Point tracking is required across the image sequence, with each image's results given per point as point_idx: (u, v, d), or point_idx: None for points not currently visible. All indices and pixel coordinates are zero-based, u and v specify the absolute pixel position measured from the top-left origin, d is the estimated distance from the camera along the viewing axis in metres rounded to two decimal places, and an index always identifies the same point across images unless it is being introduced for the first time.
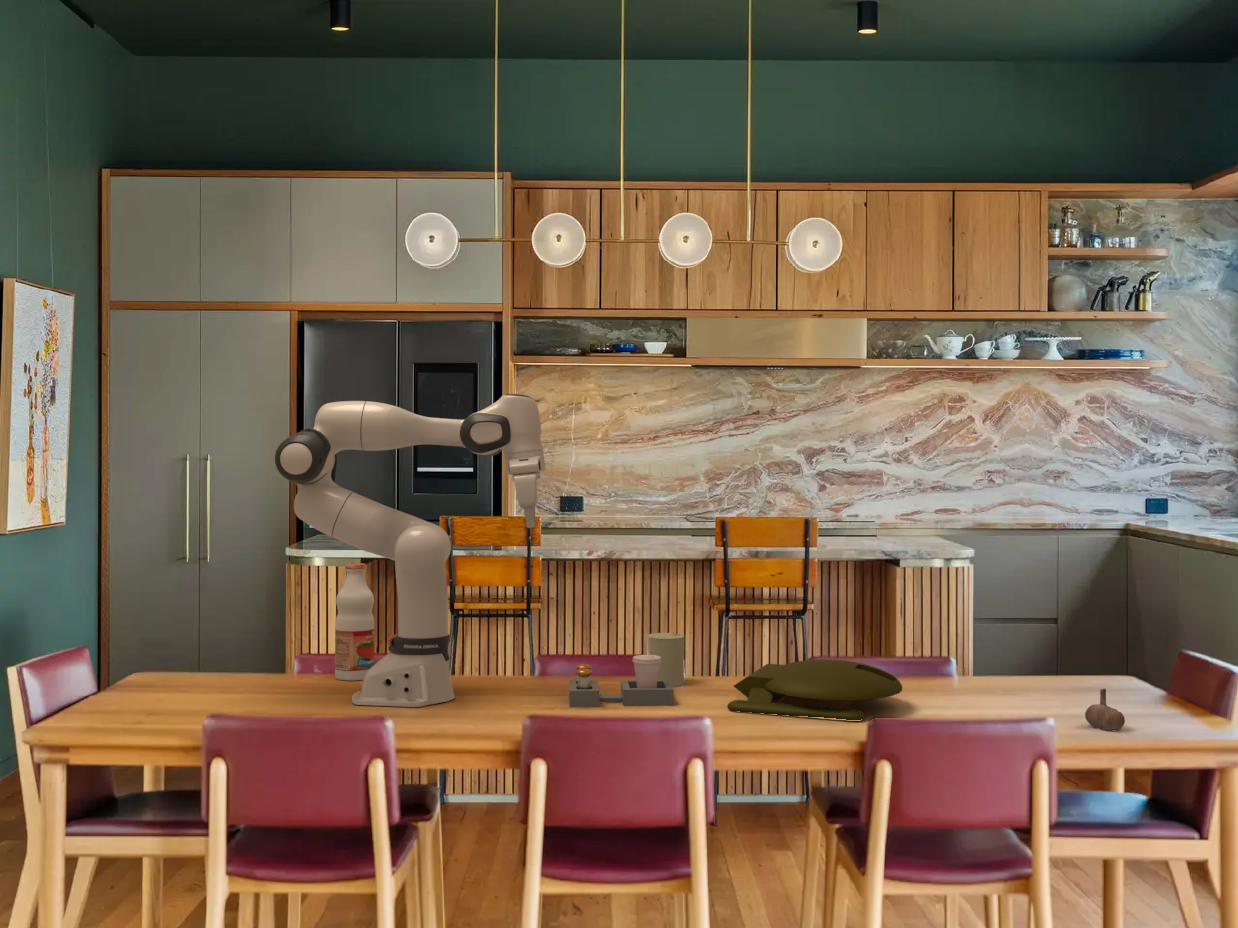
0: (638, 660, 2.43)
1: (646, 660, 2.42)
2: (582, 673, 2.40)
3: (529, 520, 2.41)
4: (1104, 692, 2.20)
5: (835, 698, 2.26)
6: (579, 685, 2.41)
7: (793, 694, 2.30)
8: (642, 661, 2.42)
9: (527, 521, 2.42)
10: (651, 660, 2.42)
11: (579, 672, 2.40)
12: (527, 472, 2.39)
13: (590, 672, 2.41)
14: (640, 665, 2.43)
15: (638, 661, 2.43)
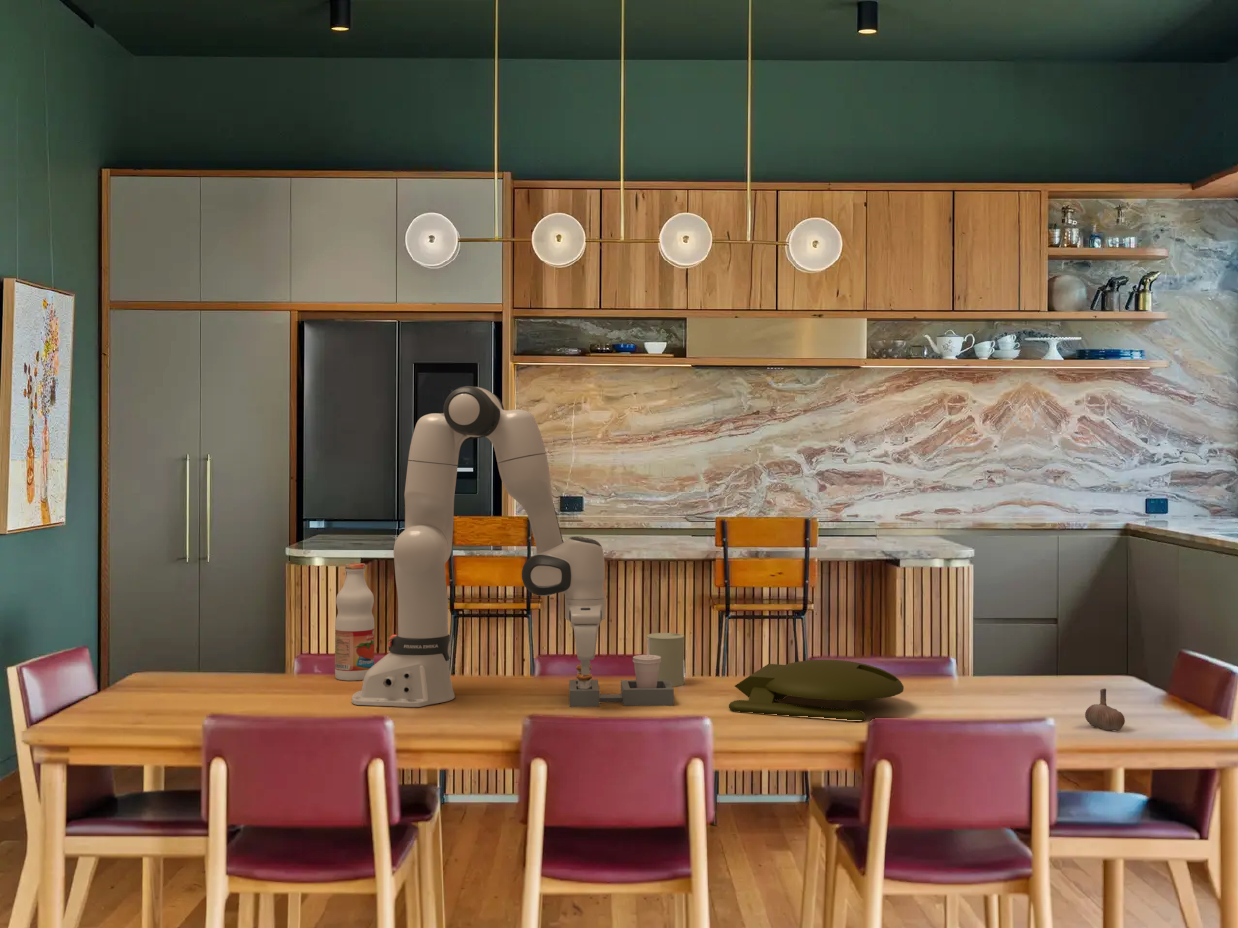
0: (638, 660, 2.43)
1: (646, 660, 2.42)
2: (582, 677, 2.40)
3: (584, 667, 2.40)
4: (1104, 692, 2.20)
5: (836, 698, 2.26)
6: None
7: (794, 694, 2.30)
8: (642, 661, 2.42)
9: (582, 668, 2.40)
10: (651, 660, 2.42)
11: (579, 676, 2.40)
12: (588, 623, 2.33)
13: (590, 676, 2.41)
14: (640, 665, 2.43)
15: (638, 661, 2.43)
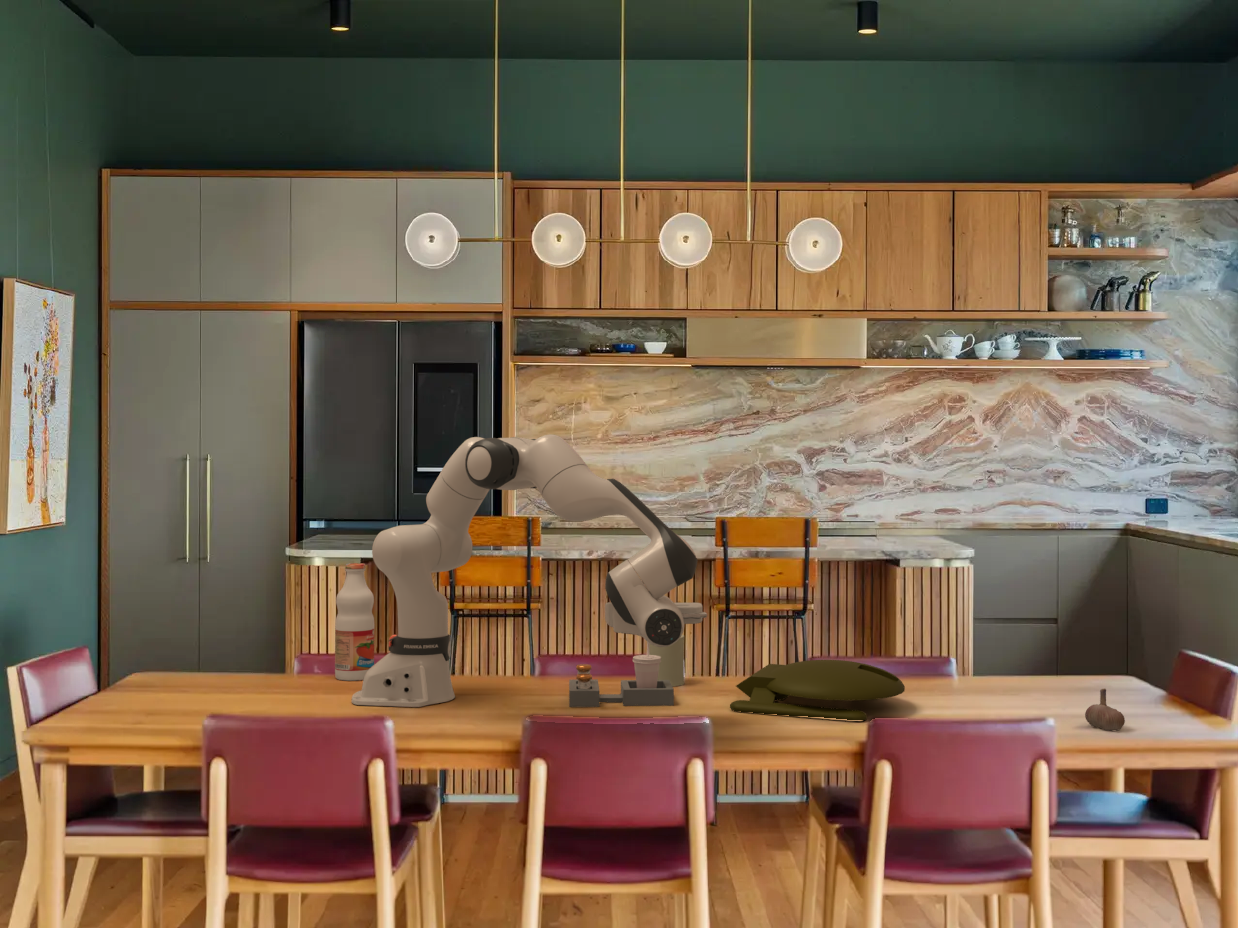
0: (638, 660, 2.43)
1: (646, 660, 2.42)
2: (582, 678, 2.40)
3: None
4: (1104, 692, 2.20)
5: (838, 698, 2.26)
6: None
7: (796, 694, 2.29)
8: (642, 661, 2.42)
9: None
10: (651, 660, 2.42)
11: (579, 677, 2.40)
12: None
13: (590, 677, 2.41)
14: (640, 665, 2.43)
15: (638, 661, 2.43)
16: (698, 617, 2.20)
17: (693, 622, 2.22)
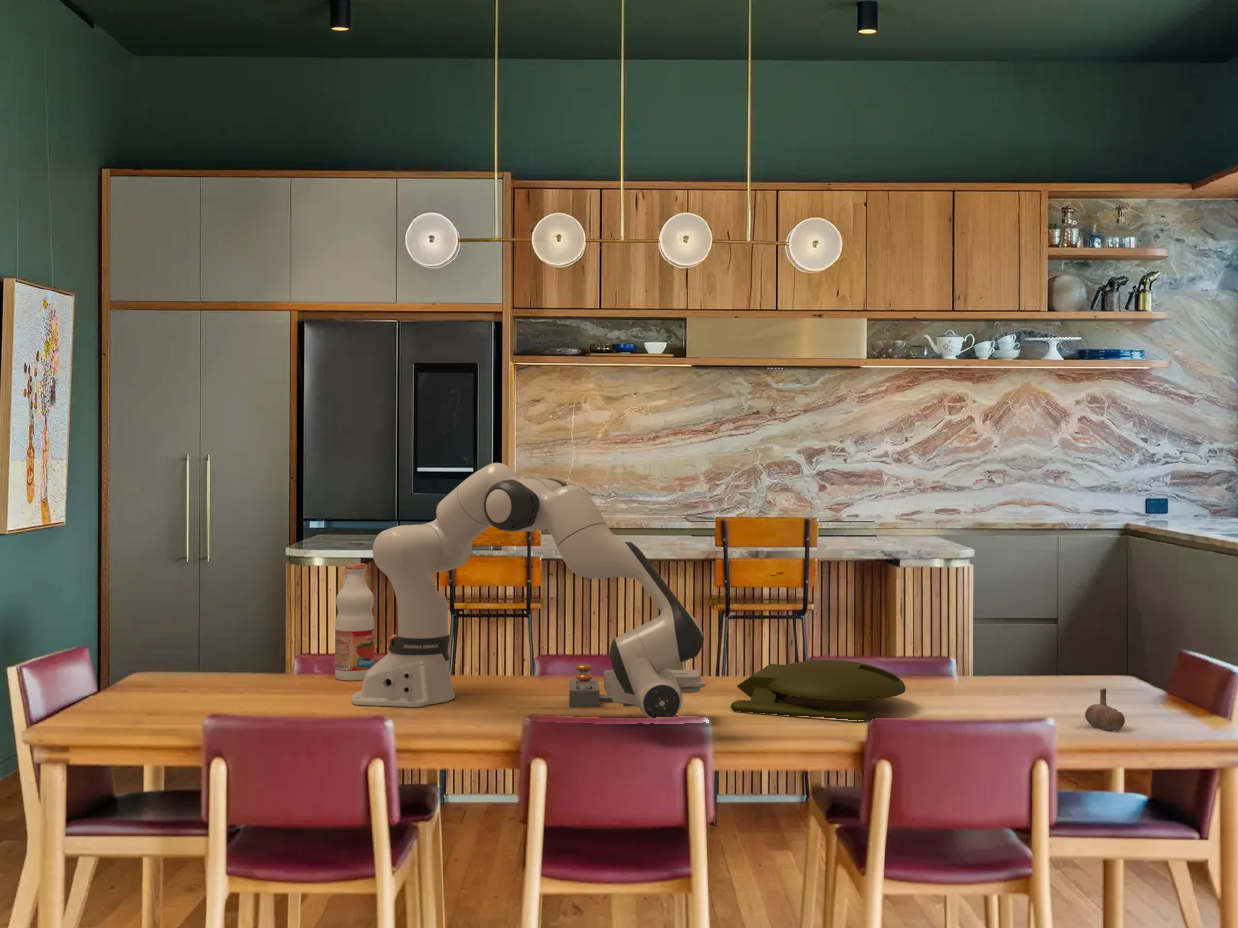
0: None
1: None
2: (582, 678, 2.40)
3: None
4: (1104, 692, 2.20)
5: (839, 698, 2.26)
6: None
7: (796, 694, 2.29)
8: None
9: None
10: None
11: (579, 677, 2.40)
12: None
13: (590, 677, 2.41)
14: None
15: None
16: (696, 687, 2.21)
17: (691, 691, 2.23)
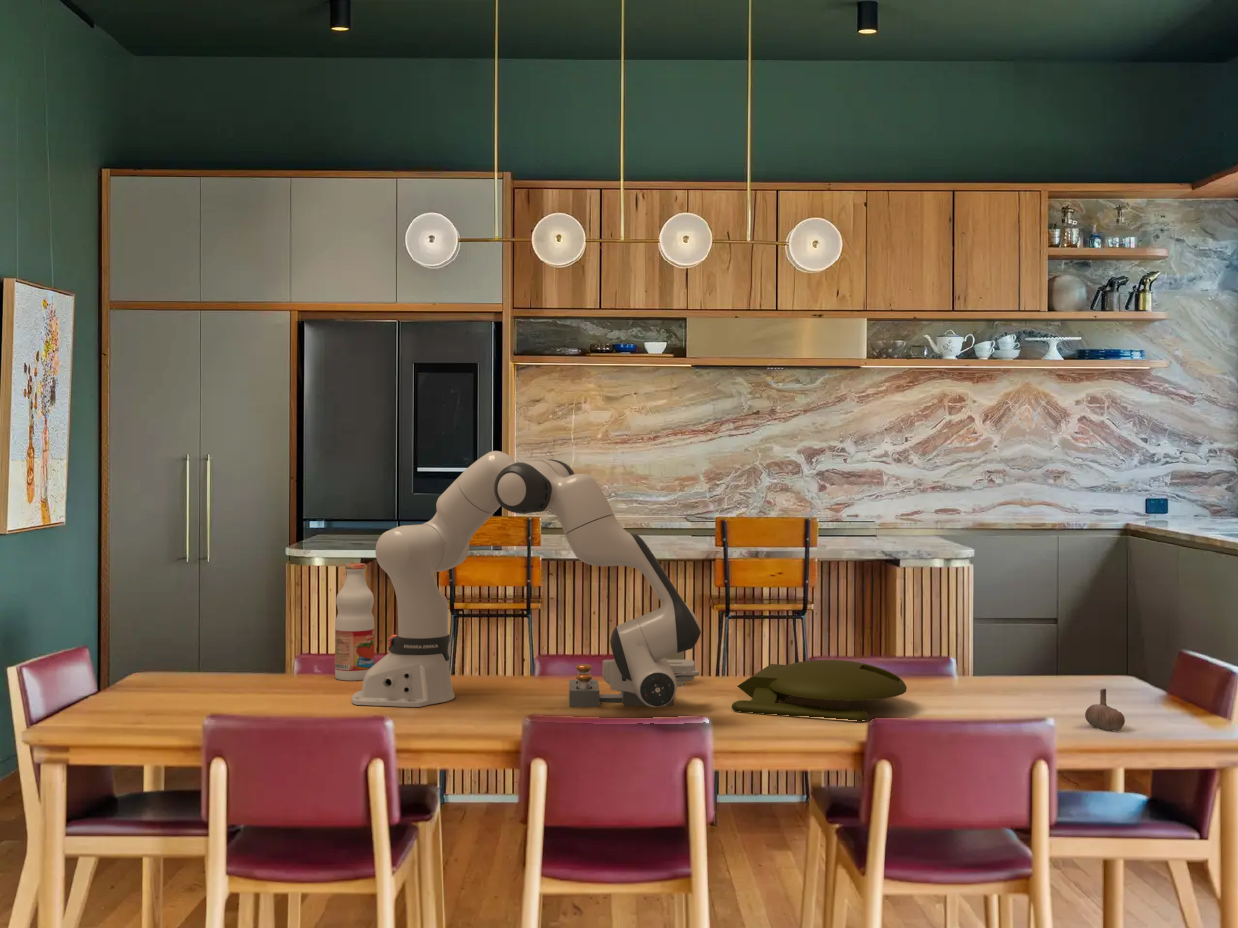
0: None
1: None
2: (582, 678, 2.40)
3: None
4: (1104, 692, 2.20)
5: (839, 698, 2.26)
6: None
7: (797, 694, 2.29)
8: None
9: None
10: None
11: (579, 677, 2.40)
12: None
13: (590, 677, 2.41)
14: None
15: None
16: (690, 675, 2.33)
17: (686, 680, 2.34)
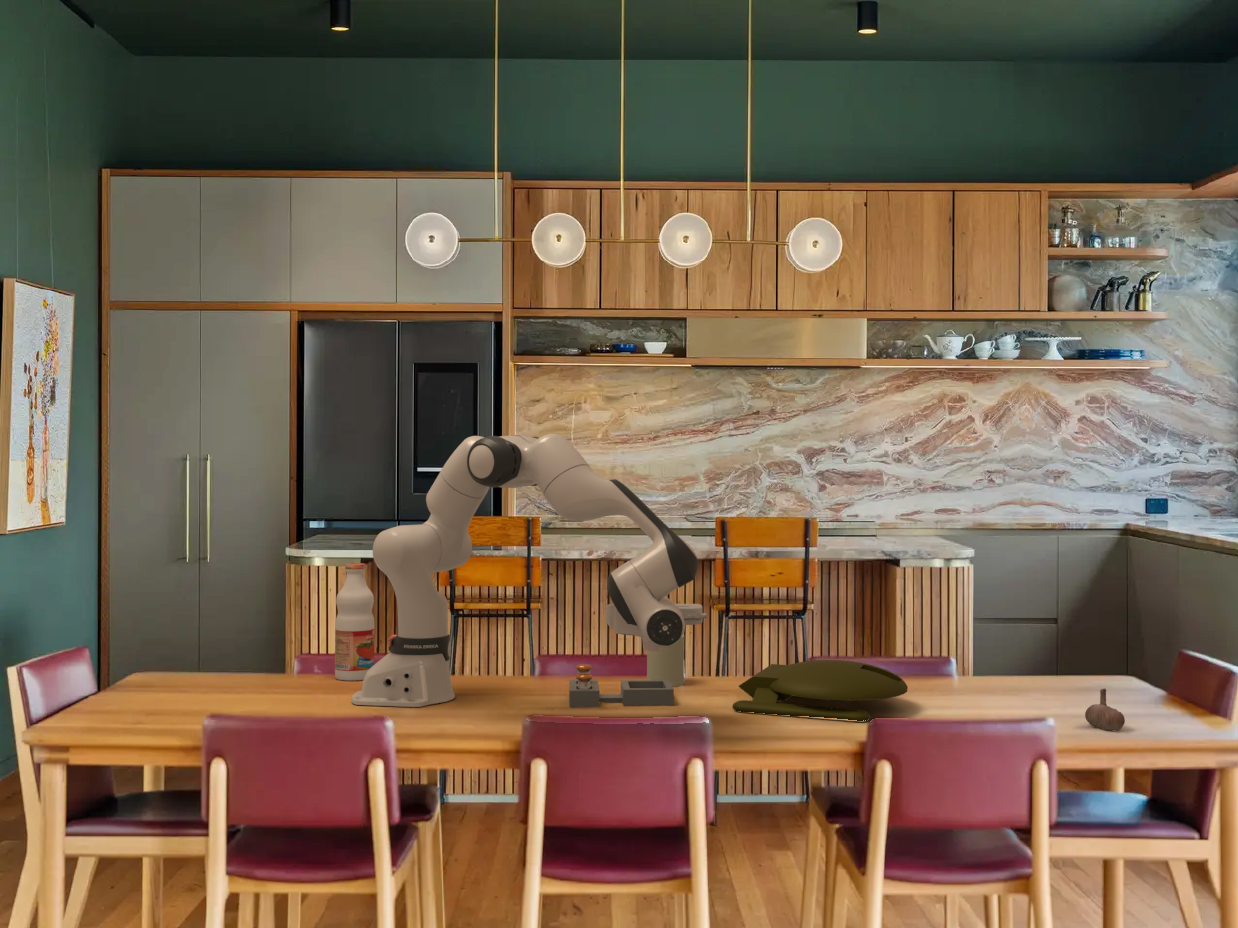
0: None
1: None
2: (582, 678, 2.40)
3: None
4: (1104, 692, 2.20)
5: (841, 698, 2.26)
6: None
7: (798, 694, 2.29)
8: None
9: None
10: None
11: (579, 677, 2.40)
12: None
13: (590, 677, 2.41)
14: None
15: None
16: (698, 618, 2.22)
17: (693, 623, 2.24)
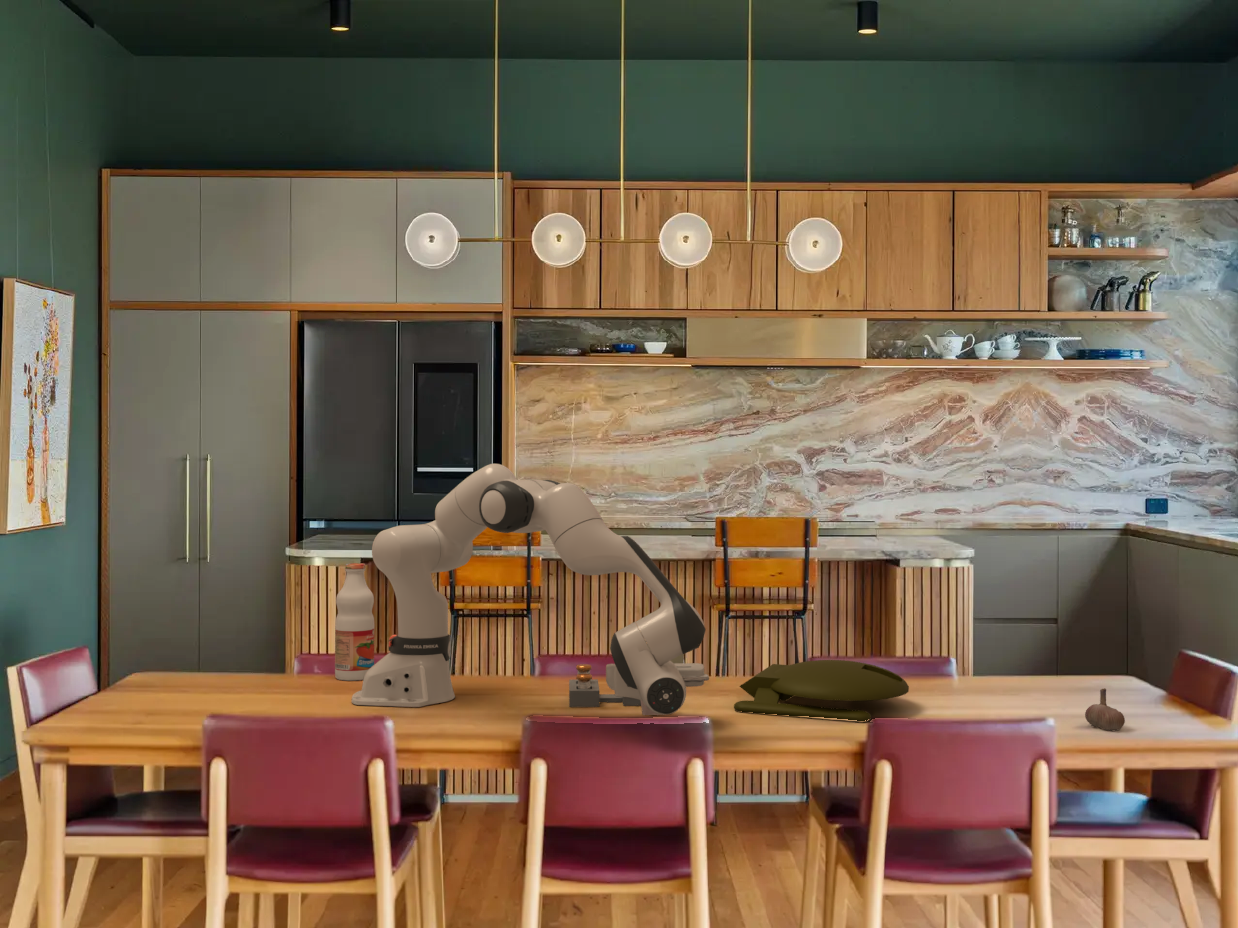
0: None
1: None
2: (582, 678, 2.40)
3: None
4: (1104, 692, 2.20)
5: (842, 699, 2.26)
6: None
7: (800, 694, 2.29)
8: None
9: None
10: None
11: (579, 677, 2.40)
12: None
13: (590, 677, 2.41)
14: None
15: None
16: (700, 680, 2.18)
17: (695, 685, 2.20)
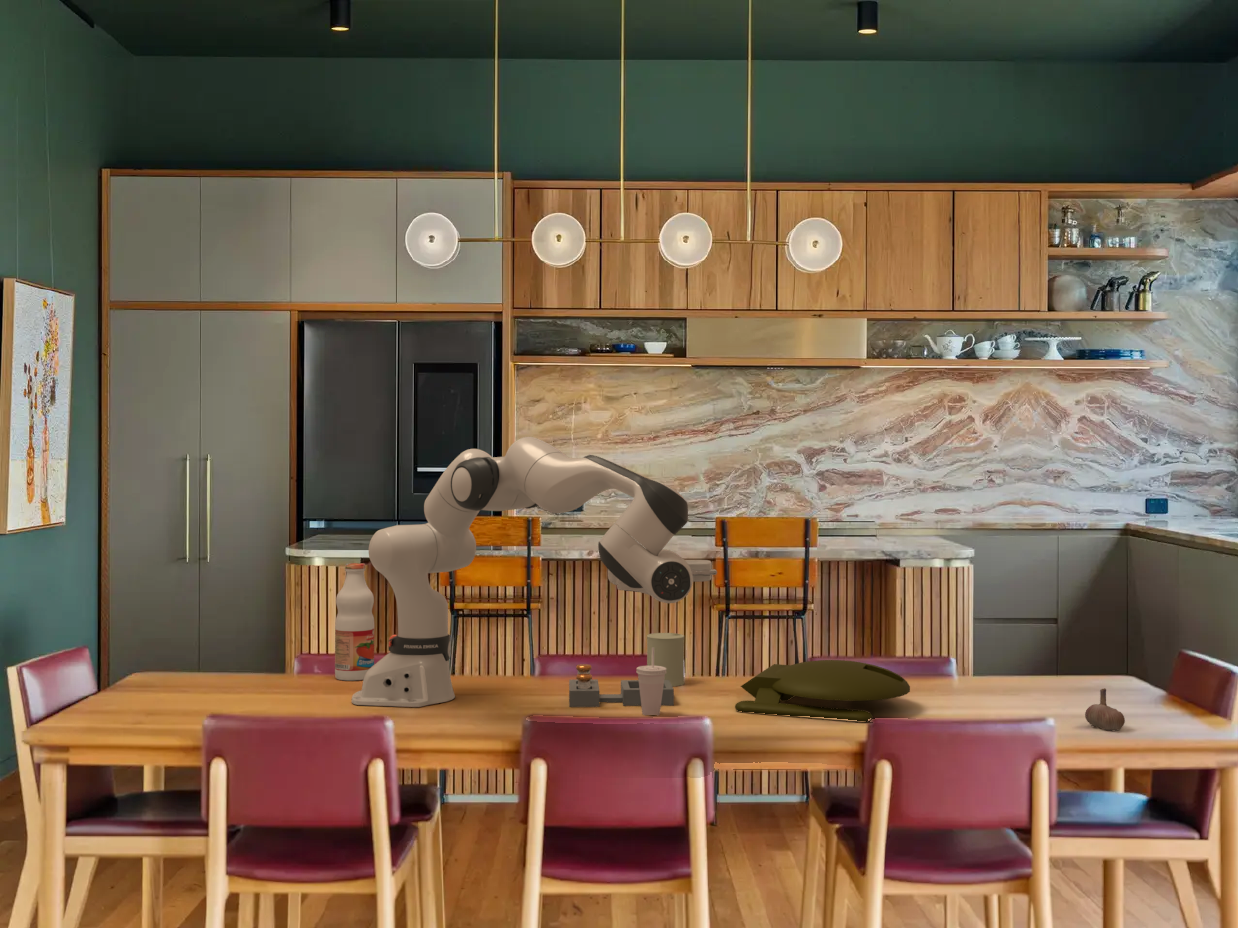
0: (642, 671, 2.29)
1: (651, 671, 2.28)
2: (582, 678, 2.40)
3: None
4: (1104, 692, 2.20)
5: (843, 699, 2.25)
6: None
7: (801, 695, 2.29)
8: (647, 672, 2.28)
9: None
10: (656, 671, 2.28)
11: (579, 677, 2.40)
12: None
13: (590, 677, 2.41)
14: (644, 677, 2.29)
15: (642, 672, 2.29)
16: (707, 574, 2.06)
17: (702, 579, 2.08)
